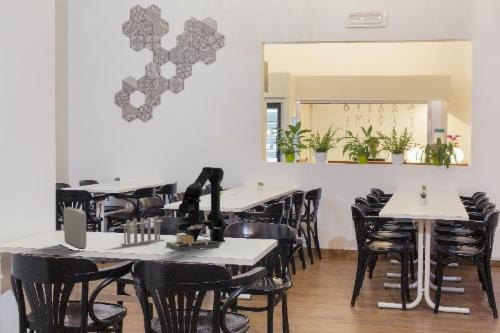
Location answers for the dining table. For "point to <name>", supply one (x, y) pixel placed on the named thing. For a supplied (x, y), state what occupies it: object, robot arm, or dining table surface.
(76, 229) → the wireless router
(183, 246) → the cord bundle
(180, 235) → the block
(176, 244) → the breaker panel
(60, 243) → the dining table surface
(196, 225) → the robot arm
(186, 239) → the block
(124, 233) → the test tube rack
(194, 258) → the dining table surface
